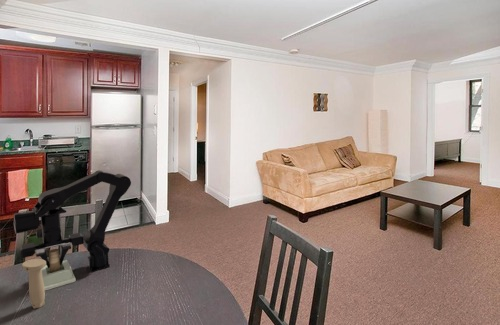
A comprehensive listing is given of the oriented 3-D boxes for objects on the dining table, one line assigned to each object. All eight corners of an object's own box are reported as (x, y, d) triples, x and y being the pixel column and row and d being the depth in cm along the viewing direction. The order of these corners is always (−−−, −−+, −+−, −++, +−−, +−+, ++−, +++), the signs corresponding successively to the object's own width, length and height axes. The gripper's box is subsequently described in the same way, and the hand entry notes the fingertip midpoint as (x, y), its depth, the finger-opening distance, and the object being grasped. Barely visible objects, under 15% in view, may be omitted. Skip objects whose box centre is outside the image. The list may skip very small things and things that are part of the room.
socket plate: (70, 268, 114) (69, 258, 114) (75, 281, 106) (74, 270, 106) (36, 278, 107) (35, 266, 107) (39, 292, 99) (37, 280, 98)
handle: (36, 299, 95) (32, 257, 93) (53, 302, 94) (49, 260, 92) (22, 309, 91) (18, 265, 88) (40, 312, 90) (35, 268, 87)
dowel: (61, 271, 106) (59, 251, 105) (50, 274, 104) (48, 253, 103) (60, 267, 109) (58, 247, 107) (49, 270, 107) (47, 250, 105)
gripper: (76, 214, 115) (79, 250, 118) (17, 224, 103) (21, 264, 106) (82, 223, 107) (85, 261, 110) (18, 235, 95) (23, 278, 98)
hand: (54, 266), depth 106 cm, fingers closed on dowel, 3 cm apart
